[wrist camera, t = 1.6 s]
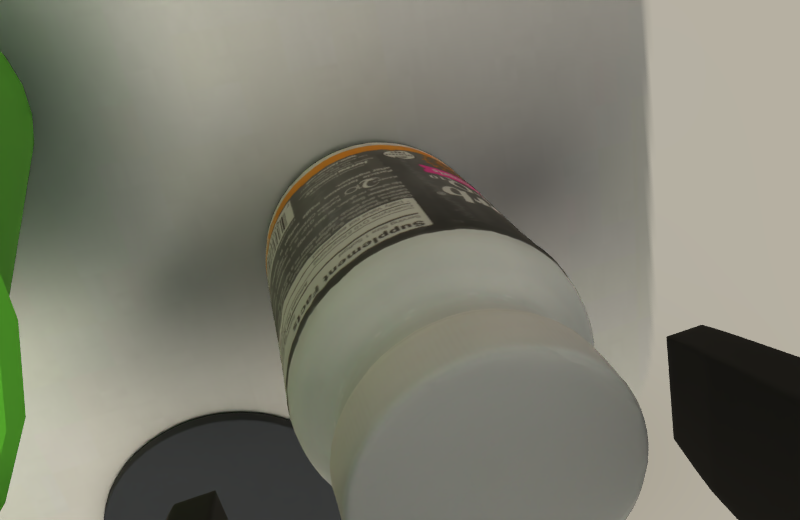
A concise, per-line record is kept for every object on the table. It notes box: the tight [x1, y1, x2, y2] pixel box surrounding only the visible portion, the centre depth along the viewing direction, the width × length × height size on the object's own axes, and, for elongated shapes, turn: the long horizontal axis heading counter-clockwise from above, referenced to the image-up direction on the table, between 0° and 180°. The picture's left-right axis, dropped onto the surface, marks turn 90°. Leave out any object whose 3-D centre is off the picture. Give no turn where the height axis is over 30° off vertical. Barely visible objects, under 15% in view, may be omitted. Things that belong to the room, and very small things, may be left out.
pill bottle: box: [266, 142, 648, 520], centre depth 15 cm, size 6×6×10 cm
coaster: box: [104, 412, 341, 520], centre depth 21 cm, size 7×7×1 cm
